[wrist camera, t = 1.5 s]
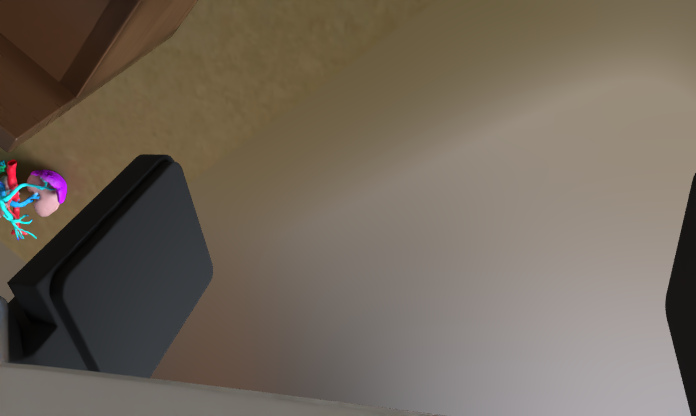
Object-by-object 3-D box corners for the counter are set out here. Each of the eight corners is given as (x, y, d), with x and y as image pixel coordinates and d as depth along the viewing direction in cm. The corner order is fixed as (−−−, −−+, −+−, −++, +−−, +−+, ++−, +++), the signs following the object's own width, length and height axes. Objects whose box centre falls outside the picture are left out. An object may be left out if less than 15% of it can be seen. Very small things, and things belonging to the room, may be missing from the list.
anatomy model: (42, 275, 43) (25, 210, 39) (-58, 238, 44) (-87, 170, 39) (84, 226, 47) (73, 162, 42) (-9, 193, 48) (-30, 126, 43)
